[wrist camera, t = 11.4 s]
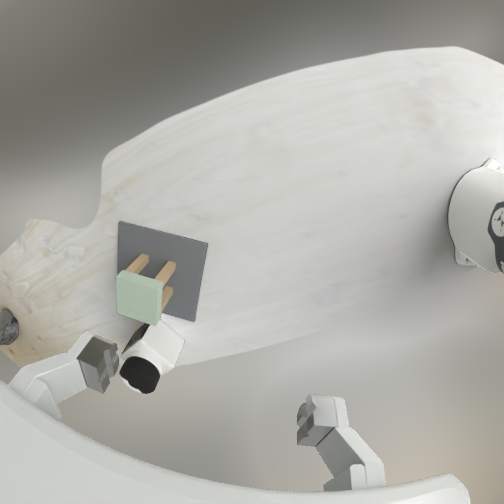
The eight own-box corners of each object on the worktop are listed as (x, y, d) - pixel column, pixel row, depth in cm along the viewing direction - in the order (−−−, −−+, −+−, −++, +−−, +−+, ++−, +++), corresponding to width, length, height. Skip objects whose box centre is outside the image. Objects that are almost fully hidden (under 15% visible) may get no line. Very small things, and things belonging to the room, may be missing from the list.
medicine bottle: (155, 313, 44) (127, 361, 33) (185, 340, 46) (166, 391, 35) (134, 331, 46) (107, 376, 35) (163, 355, 48) (142, 402, 37)
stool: (177, 261, 39) (157, 289, 32) (173, 295, 42) (156, 326, 34) (140, 252, 39) (115, 276, 32) (139, 285, 42) (117, 313, 34)
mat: (208, 243, 38) (207, 244, 38) (194, 320, 44) (194, 321, 44) (120, 221, 38) (119, 222, 38) (119, 297, 44) (118, 298, 43)
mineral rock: (11, 338, 55) (-7, 357, 46) (-6, 308, 51) (-26, 326, 42) (29, 339, 53) (9, 361, 44) (10, 306, 49) (-13, 326, 40)
